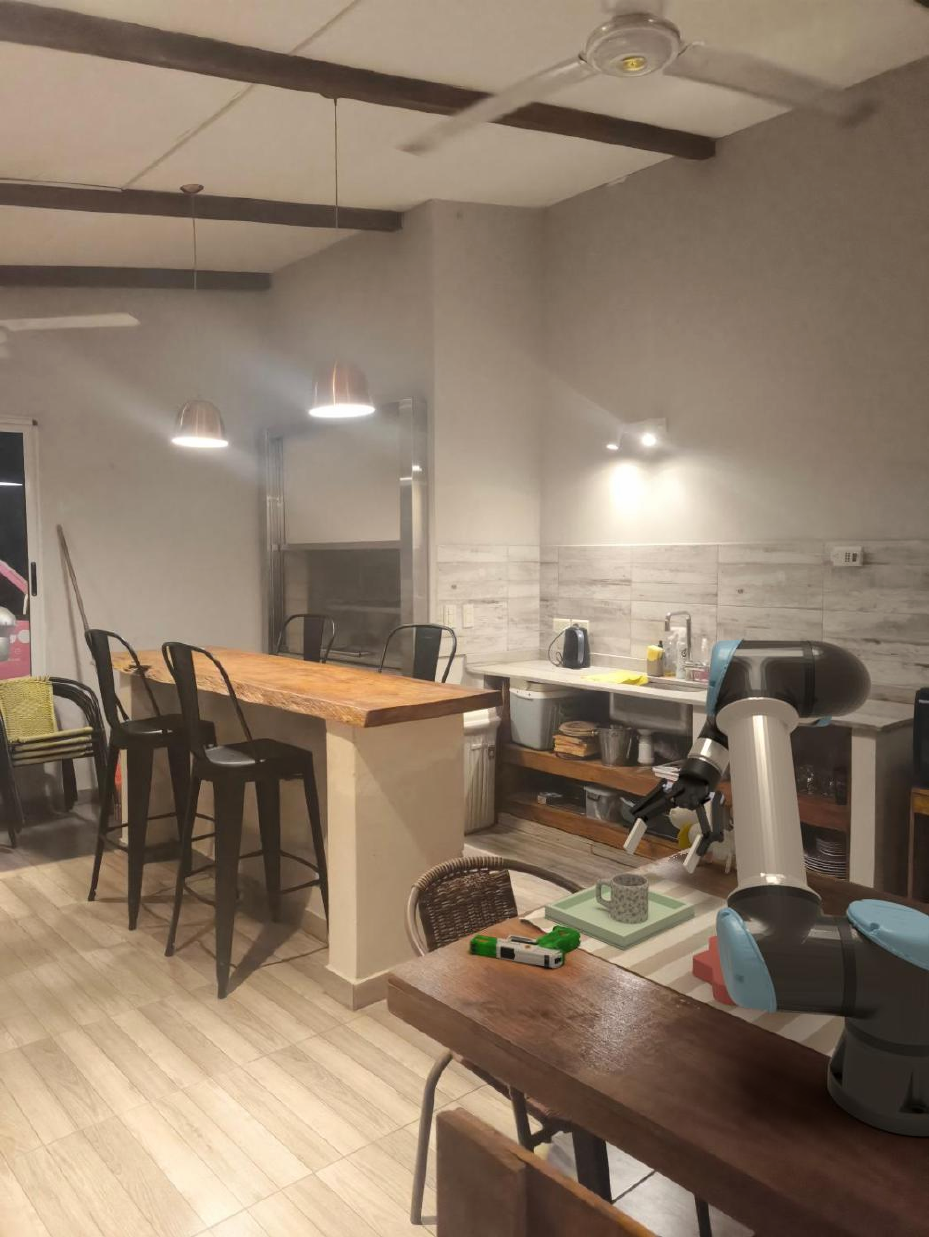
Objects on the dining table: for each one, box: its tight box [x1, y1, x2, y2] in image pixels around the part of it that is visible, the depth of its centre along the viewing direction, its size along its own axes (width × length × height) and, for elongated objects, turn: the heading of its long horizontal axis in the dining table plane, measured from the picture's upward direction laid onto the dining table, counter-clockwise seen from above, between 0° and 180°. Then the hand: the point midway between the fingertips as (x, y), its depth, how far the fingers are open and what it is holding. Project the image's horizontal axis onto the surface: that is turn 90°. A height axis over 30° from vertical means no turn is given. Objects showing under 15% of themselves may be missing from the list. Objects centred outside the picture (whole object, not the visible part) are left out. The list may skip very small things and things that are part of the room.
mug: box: [595, 872, 650, 924], centre depth 169 cm, size 10×7×7 cm, turn 55°
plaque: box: [692, 935, 738, 1006], centre depth 146 cm, size 18×4×15 cm
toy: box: [668, 805, 737, 875], centre depth 193 cm, size 9×19×15 cm, turn 40°
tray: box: [544, 884, 695, 951], centre depth 169 cm, size 20×18×2 cm
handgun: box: [469, 924, 582, 969], centre depth 157 cm, size 3×16×12 cm
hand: (656, 859), depth 175 cm, fingers open, 13 cm apart
